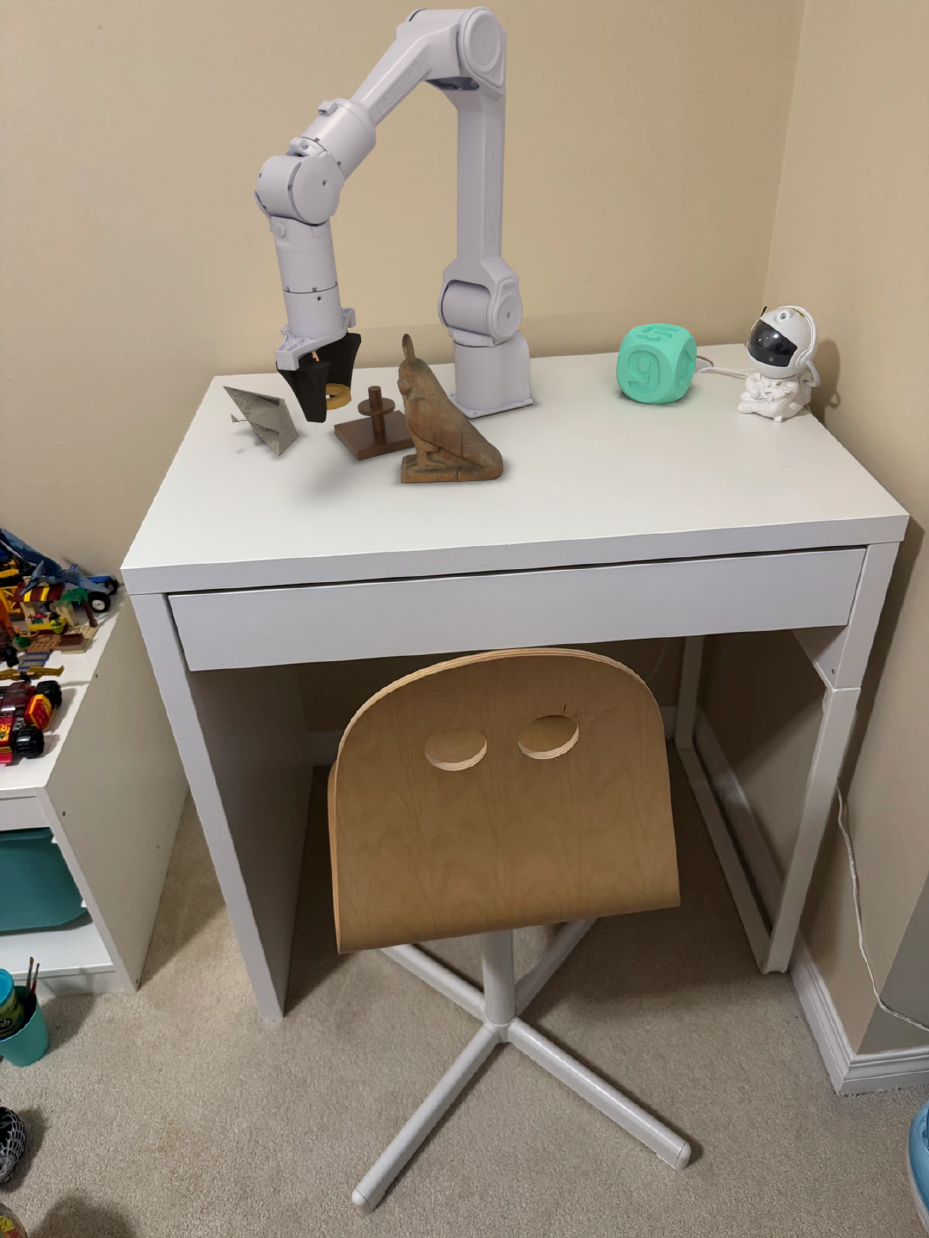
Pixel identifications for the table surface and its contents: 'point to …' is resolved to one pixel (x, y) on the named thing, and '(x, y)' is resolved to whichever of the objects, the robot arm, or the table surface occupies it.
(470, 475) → the worn brown figurine
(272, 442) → the paper boat
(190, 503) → the table surface
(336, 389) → the brass ring
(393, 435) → the peg stand
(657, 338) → the decorative dice
